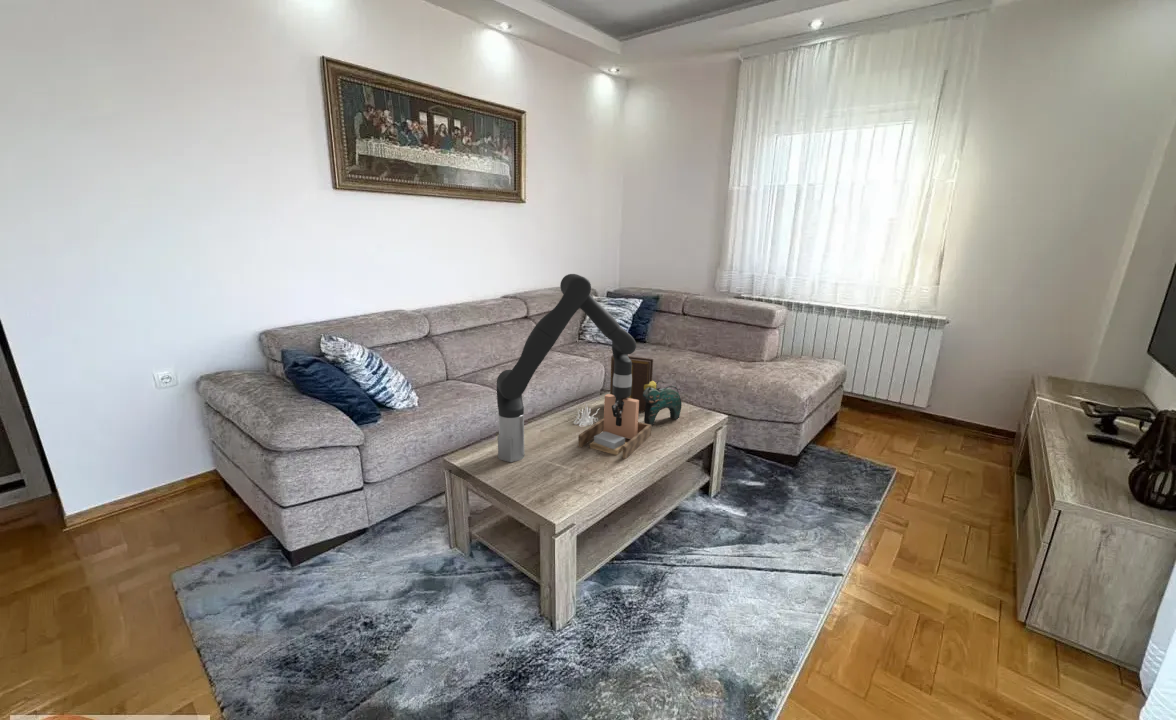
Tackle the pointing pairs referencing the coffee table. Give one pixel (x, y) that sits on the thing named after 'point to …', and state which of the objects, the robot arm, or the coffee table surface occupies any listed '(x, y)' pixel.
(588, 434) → the wooden tray
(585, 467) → the coffee table surface
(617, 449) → the offcut bottom
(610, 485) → the coffee table surface
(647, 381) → the book
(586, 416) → the white tentacle figurine
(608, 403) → the salmon orange rectangular slab
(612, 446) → the offcut top
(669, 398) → the ceramic cat
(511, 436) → the robot arm
